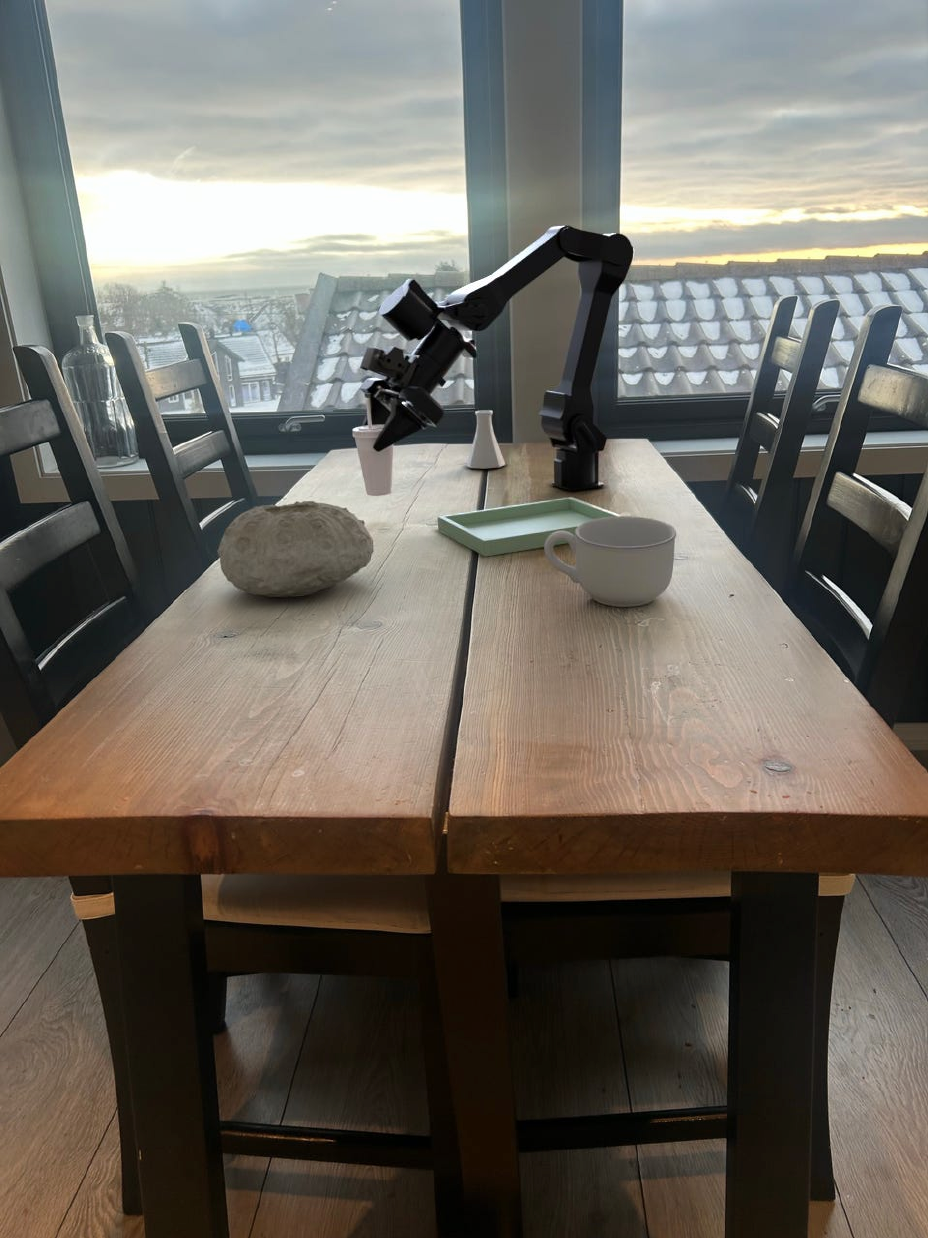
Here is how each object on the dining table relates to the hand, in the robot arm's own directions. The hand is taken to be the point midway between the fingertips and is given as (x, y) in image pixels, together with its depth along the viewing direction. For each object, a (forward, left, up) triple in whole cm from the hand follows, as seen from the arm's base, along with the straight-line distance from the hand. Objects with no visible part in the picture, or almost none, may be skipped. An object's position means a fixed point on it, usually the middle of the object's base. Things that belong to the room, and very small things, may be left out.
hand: (366, 446), depth 146 cm
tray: (-16, +20, -11) cm, 28 cm away
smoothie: (-1, 0, -7) cm, 7 cm away
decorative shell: (+19, +28, -11) cm, 35 cm away
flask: (-31, -27, -11) cm, 43 cm away
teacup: (-10, +50, -11) cm, 52 cm away
